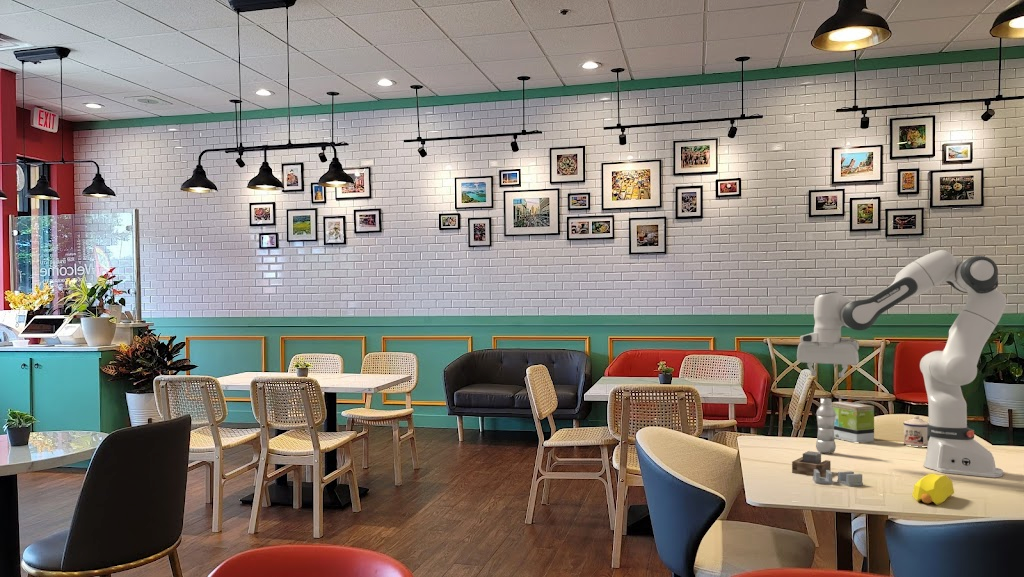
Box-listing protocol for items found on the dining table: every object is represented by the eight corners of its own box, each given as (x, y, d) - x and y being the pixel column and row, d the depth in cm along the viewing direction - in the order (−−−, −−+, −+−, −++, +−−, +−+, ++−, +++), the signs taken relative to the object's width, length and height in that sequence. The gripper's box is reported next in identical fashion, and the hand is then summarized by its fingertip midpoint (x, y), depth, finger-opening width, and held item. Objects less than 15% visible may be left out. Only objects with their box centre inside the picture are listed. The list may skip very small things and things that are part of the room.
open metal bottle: (818, 450, 273) (818, 397, 274) (837, 453, 269) (837, 398, 270) (814, 453, 268) (813, 398, 269) (833, 455, 264) (833, 400, 265)
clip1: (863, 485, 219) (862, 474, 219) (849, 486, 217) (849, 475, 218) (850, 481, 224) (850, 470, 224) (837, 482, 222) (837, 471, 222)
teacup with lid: (899, 445, 286) (899, 415, 286) (908, 443, 292) (907, 413, 293) (933, 450, 277) (933, 419, 278) (941, 447, 284) (941, 417, 284)
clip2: (830, 480, 224) (830, 470, 225) (833, 484, 220) (833, 473, 220) (812, 479, 226) (812, 469, 226) (815, 483, 221) (815, 472, 221)
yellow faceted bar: (956, 496, 207) (926, 491, 212) (956, 473, 207) (926, 468, 212) (941, 509, 194) (909, 503, 199) (941, 483, 194) (909, 478, 199)
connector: (824, 466, 241) (824, 450, 241) (815, 471, 233) (815, 455, 233) (812, 464, 243) (812, 449, 244) (802, 469, 236) (802, 453, 236)
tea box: (827, 437, 304) (827, 401, 304) (844, 436, 308) (844, 400, 308) (857, 443, 290) (856, 406, 290) (875, 442, 294) (875, 405, 294)
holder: (830, 471, 237) (830, 460, 237) (821, 476, 230) (821, 465, 230) (802, 467, 243) (802, 457, 243) (792, 472, 235) (792, 461, 235)
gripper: (861, 338, 254) (861, 378, 254) (801, 336, 267) (801, 374, 267) (856, 338, 249) (856, 379, 249) (795, 336, 262) (795, 375, 262)
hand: (827, 376), depth 258 cm, fingers open, 8 cm apart
